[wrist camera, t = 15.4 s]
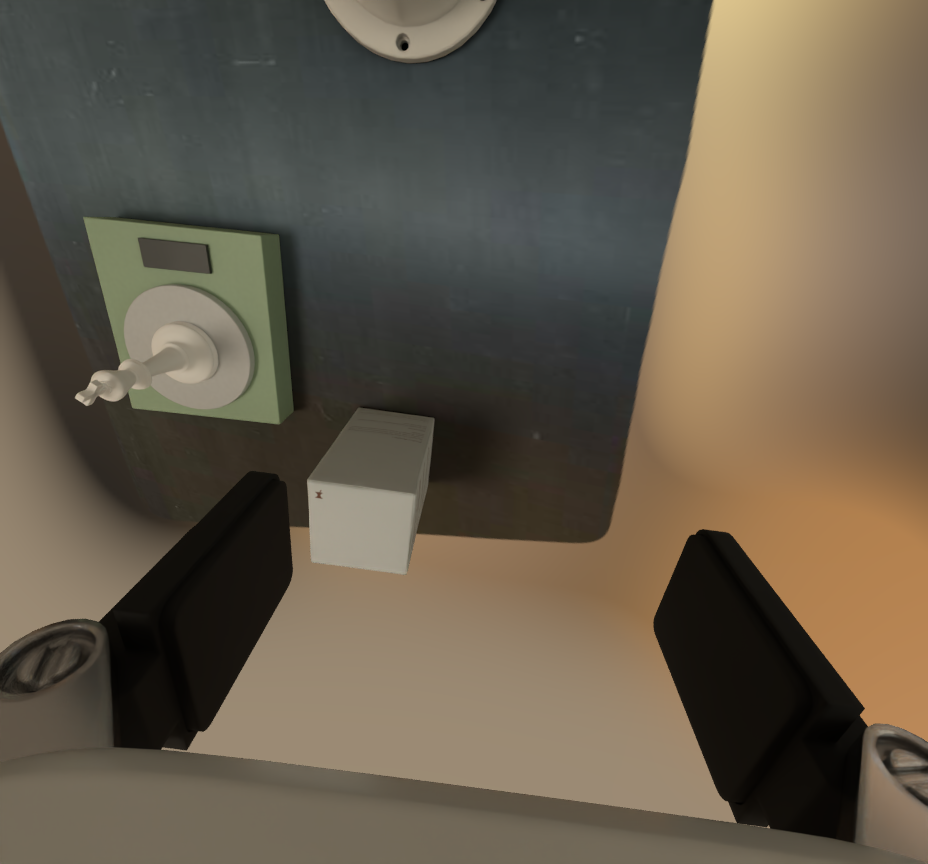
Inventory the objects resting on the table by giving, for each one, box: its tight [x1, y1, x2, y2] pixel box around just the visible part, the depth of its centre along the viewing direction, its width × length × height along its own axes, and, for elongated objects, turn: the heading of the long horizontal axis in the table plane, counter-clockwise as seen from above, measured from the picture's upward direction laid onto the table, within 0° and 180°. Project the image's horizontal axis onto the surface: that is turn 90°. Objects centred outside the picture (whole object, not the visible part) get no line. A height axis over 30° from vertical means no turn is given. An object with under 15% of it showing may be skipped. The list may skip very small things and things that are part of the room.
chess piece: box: [75, 321, 218, 406], centre depth 30 cm, size 5×5×10 cm
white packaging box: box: [307, 408, 434, 575], centre depth 36 cm, size 7×7×13 cm
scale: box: [83, 217, 294, 424], centre depth 35 cm, size 15×13×4 cm
